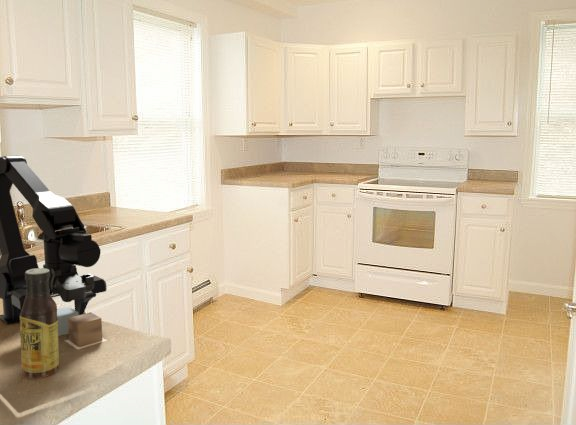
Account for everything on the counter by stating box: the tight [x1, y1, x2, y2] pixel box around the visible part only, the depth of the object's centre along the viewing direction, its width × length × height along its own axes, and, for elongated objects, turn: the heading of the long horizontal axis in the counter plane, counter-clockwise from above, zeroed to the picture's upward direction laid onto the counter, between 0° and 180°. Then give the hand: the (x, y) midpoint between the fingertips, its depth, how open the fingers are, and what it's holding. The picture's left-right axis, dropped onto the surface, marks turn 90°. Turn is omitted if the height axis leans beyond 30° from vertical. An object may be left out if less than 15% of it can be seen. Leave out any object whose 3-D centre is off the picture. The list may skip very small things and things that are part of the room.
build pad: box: [64, 337, 108, 350], centre depth 107 cm, size 10×10×1 cm
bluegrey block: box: [57, 306, 78, 337], centre depth 112 cm, size 5×5×5 cm
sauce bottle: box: [19, 267, 60, 379], centre depth 92 cm, size 7×6×20 cm
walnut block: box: [68, 311, 103, 347], centre depth 107 cm, size 5×5×5 cm
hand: (63, 328), depth 113 cm, fingers open, 7 cm apart
